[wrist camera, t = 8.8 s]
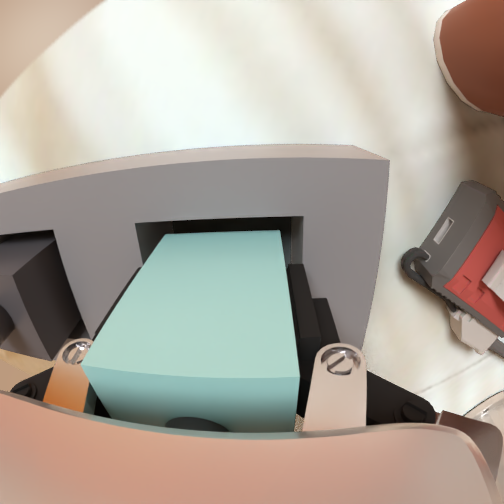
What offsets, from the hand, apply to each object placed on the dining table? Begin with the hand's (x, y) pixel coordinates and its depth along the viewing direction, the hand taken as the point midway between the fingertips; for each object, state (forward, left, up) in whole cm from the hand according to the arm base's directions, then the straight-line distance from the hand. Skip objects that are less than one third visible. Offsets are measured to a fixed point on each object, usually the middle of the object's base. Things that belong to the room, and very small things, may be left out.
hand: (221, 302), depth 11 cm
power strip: (+5, 0, -5) cm, 7 cm away
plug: (0, 0, -1) cm, 1 cm away
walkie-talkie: (-19, +4, -6) cm, 20 cm away
